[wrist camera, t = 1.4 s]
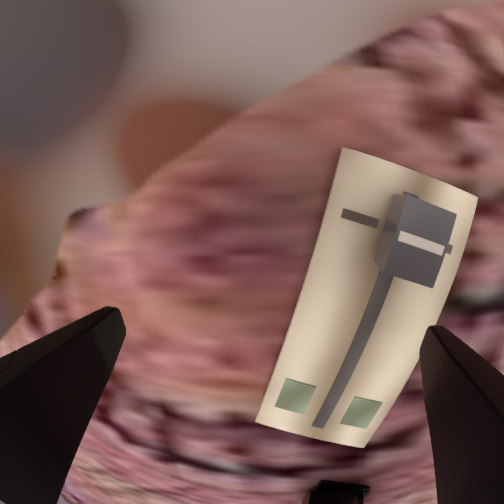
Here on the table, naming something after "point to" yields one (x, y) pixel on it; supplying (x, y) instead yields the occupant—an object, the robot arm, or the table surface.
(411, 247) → the fader knob
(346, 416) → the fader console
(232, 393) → the table surface
